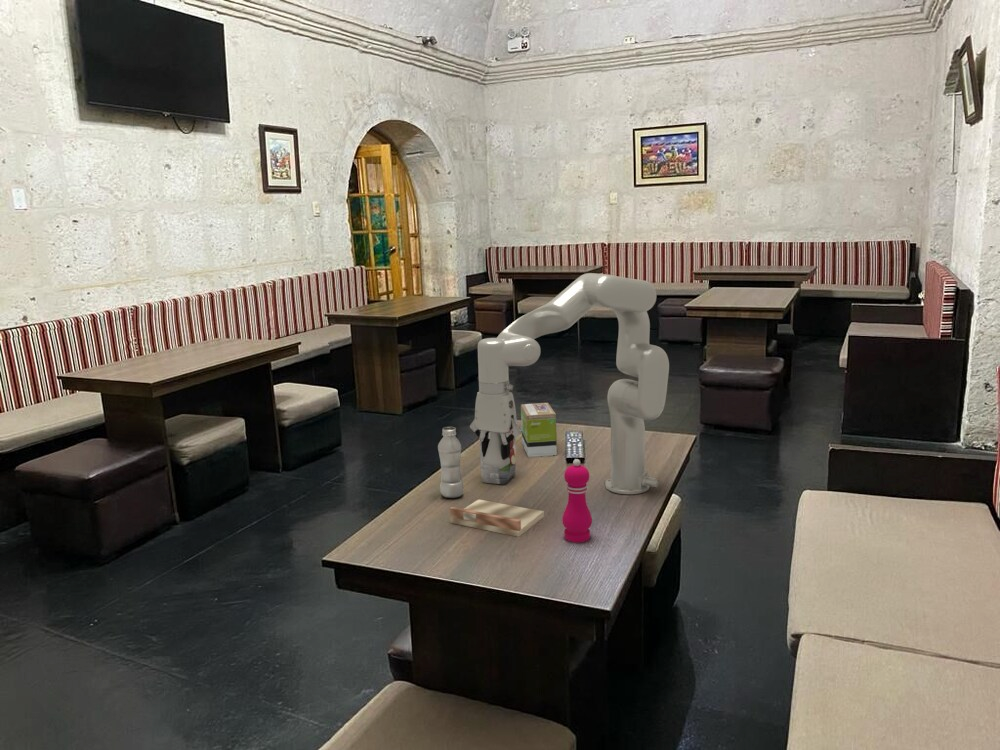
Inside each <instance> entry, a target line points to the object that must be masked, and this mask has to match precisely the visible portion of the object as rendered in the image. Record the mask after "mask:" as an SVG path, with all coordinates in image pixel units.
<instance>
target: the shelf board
mask: <svg viewBox="0 0 1000 750" xmlns="http://www.w3.org/2000/svg"><path fill="white" fill-rule="evenodd" d="M449 515H450V523H451V524H455V525H460V526H464V527H470V528H474V529H478V530H484V531H487V532H488V531H489V532H494V533H499V534H504V535H508V536H512V537H513V536H514V537H516V538H517V537H518V538H519V537H521V536H522V535H523V534H525V532H527V531H528V530H529V529H530V528H532V527H534V526H535V525H536V524H537V523H538V522H539V521H541V520H542V519H543V518H544V517H545V511H544V510H538V509H532V508H528V507H527V508H526V507H521V506H517V505H511V504H505V503H500V502H494V501H490V500H489V501H488V500H483V499H479V498H478V499H476V500H475V501H473V502H471V504H469V505H467V506H466V507H464V508H461V507H457V506H456V507H455V506H451V507H450V508H449Z"/></svg>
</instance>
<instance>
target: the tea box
mask: <svg viewBox="0 0 1000 750" xmlns="http://www.w3.org/2000/svg"><path fill="white" fill-rule="evenodd" d="M520 418H521V419H520V420H521V421H520V423H521V424H520V425H521V431H522V432H521V444H522V447H523V448H524V451H525V453H526V455H527V457H528V458H541V456H542V458H543V457H554V456H553V455H555V456H557V455H558V453H557V452H558V450H557V449H558V446H557V445H558V443H557V441H558V440H557V438H558V437H557V414H556V412H555V411H554V409H553V408H552V406H551V405H550V404H549V402H540V403H539V402H538V403H526V404H525V403H524V404H523V403H522V404H520Z"/></svg>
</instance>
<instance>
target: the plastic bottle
mask: <svg viewBox="0 0 1000 750" xmlns="http://www.w3.org/2000/svg"><path fill="white" fill-rule="evenodd" d="M456 430H457V428H456V427H454V426H445V427H443V428H442V433H441V436H443V437H442V438H441V439H440V441H439V442H438V444H437V450H438V451H437V452H438V455H439V460H440V469H441V471H440V485H439V490H440V494H441V495H442V496H443V497H445V498H448V499H455V498H460V497H461V496H462V495H463V493H464V489H465V488H464V483H463V478H462V473H461V472H462V471H461V456H462V455H461V454H462V444H461V442H460V440H459V439H458V438H457V437H456V435H457V432H456Z"/></svg>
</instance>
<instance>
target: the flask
mask: <svg viewBox="0 0 1000 750" xmlns="http://www.w3.org/2000/svg"><path fill="white" fill-rule="evenodd" d="M502 444H503V441H502V438H501V434H500V433H496V432H491V435H490V441H489V444H488V448H487V451H486V455H485V457H484V460H483V465H486V466H491V467H502V466H505V465H507V464H510V459H509V457H508V458H507V459H505V460H503V459H502V456H501V445H502Z"/></svg>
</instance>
